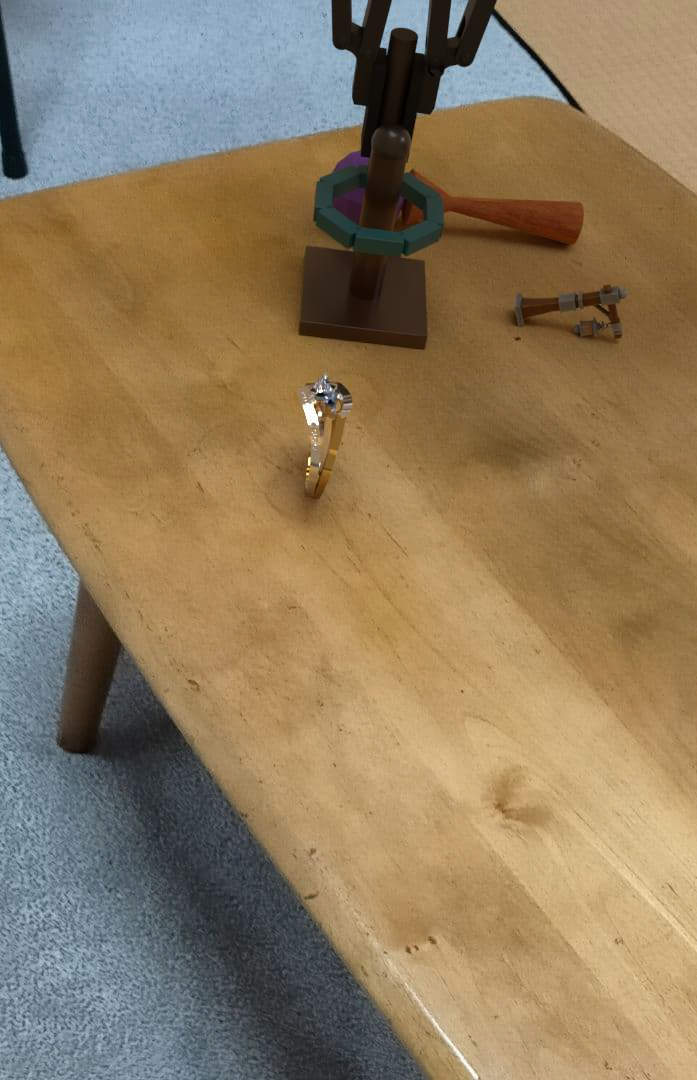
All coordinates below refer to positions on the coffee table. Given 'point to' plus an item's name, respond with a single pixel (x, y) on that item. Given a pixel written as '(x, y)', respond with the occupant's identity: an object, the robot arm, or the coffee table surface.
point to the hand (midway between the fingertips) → (384, 148)
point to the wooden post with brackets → (571, 302)
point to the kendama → (479, 209)
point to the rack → (369, 267)
